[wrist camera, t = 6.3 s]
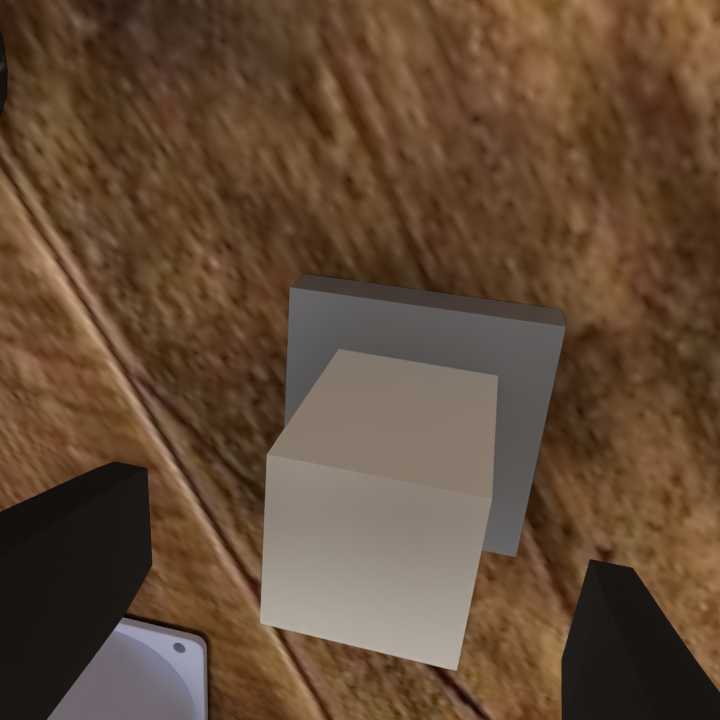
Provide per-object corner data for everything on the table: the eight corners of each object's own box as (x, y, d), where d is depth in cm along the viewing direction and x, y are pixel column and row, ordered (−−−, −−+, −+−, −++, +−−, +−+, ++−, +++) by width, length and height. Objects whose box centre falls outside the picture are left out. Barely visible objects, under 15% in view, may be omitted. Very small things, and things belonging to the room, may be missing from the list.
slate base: (295, 484, 22) (280, 509, 21) (305, 273, 20) (289, 287, 18) (515, 527, 21) (516, 557, 20) (562, 309, 18) (565, 326, 17)
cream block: (327, 481, 20) (260, 623, 15) (338, 348, 19) (266, 454, 13) (472, 511, 20) (456, 671, 14) (498, 375, 18) (492, 498, 12)
